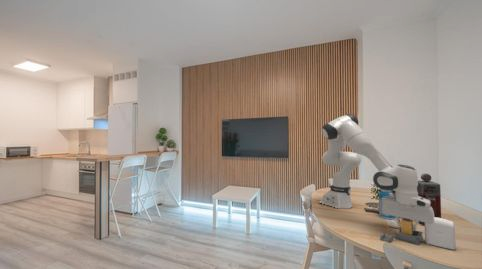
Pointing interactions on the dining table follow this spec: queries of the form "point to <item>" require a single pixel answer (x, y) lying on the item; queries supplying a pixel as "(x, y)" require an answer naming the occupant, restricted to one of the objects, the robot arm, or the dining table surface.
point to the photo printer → (440, 233)
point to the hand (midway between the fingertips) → (407, 227)
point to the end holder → (410, 237)
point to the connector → (406, 226)
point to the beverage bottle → (382, 193)
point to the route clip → (386, 238)
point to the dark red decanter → (430, 194)
